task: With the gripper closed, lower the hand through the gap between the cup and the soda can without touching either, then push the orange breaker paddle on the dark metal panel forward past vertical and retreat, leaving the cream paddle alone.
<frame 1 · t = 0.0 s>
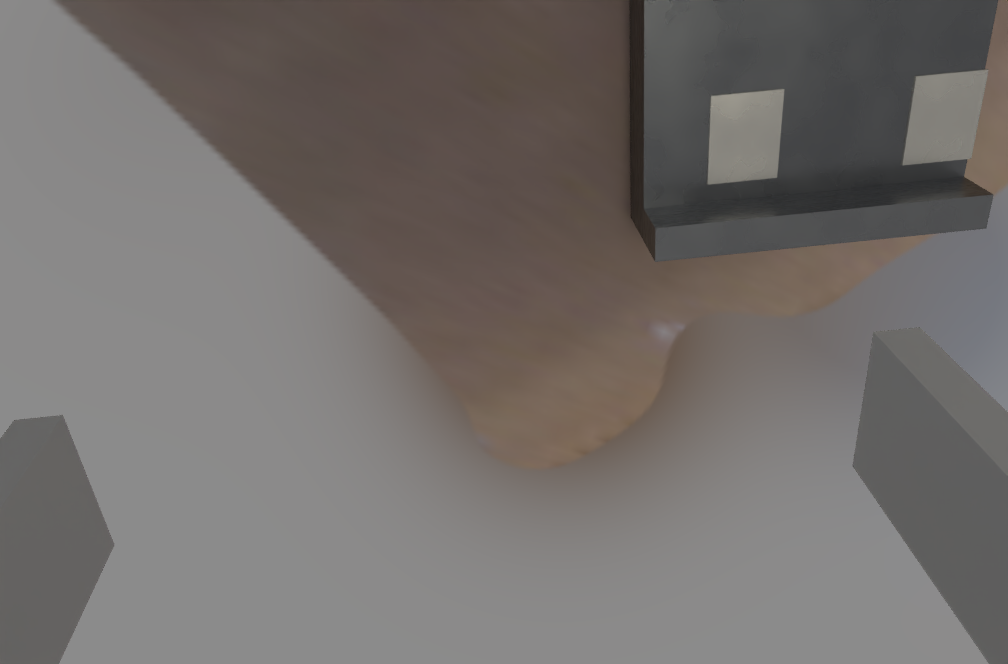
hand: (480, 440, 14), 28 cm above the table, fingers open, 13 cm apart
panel: (792, 37, 39), on the table
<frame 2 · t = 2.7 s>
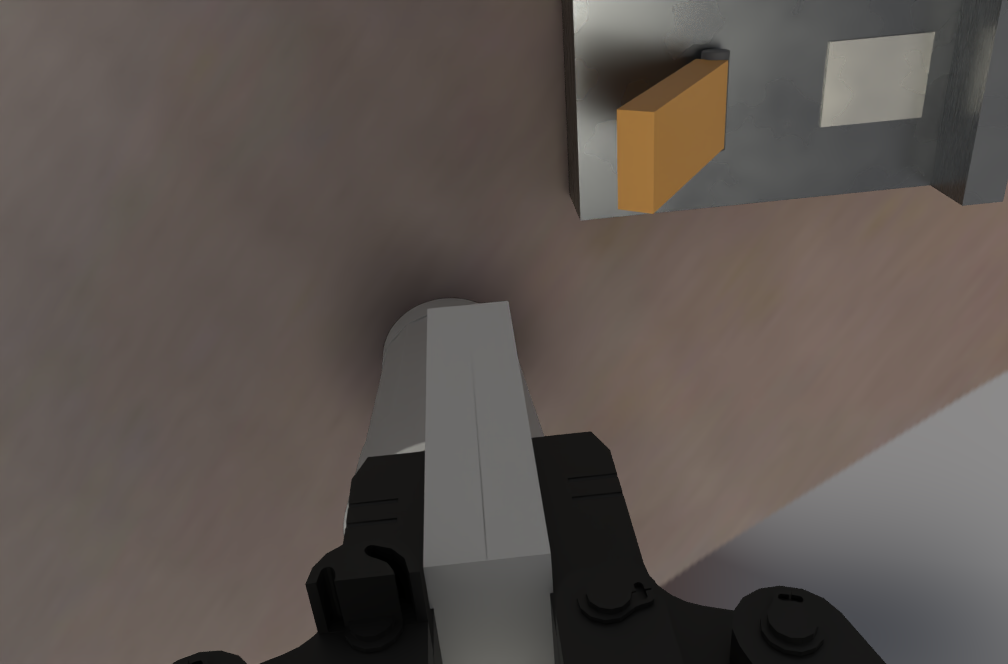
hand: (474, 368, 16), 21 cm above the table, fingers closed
paddle A: (680, 127, 29), point 7 cm above the table, hinge at -35.0°
cup: (450, 355, 41), on the table
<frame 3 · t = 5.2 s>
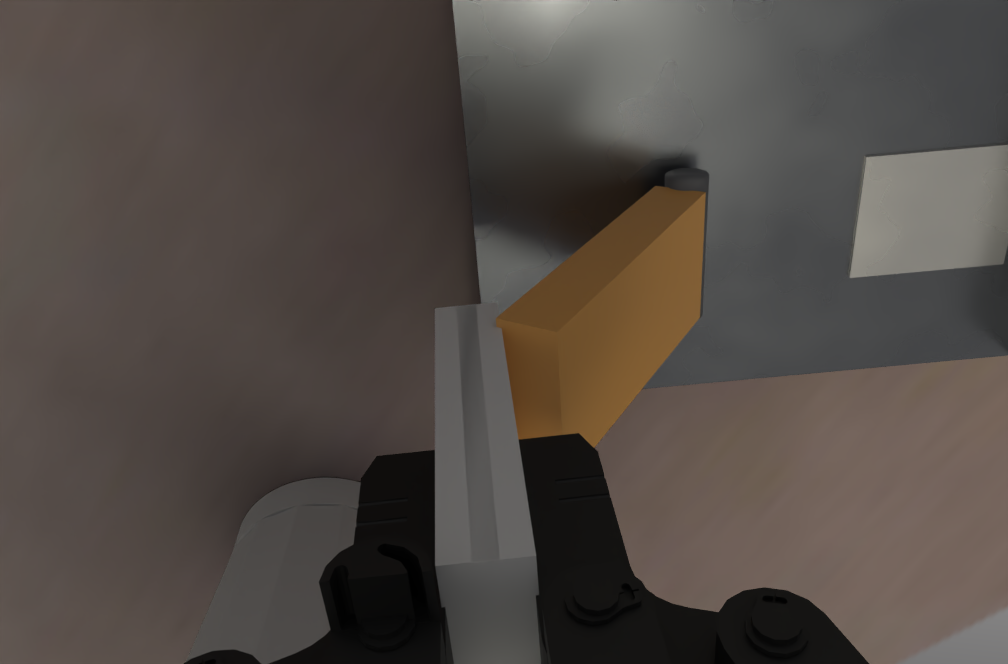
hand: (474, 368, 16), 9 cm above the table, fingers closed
paddle A: (624, 308, 18), point 7 cm above the table, hinge at -34.8°, touching gripper
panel: (766, 74, 22), on the table
cup: (331, 545, 30), on the table
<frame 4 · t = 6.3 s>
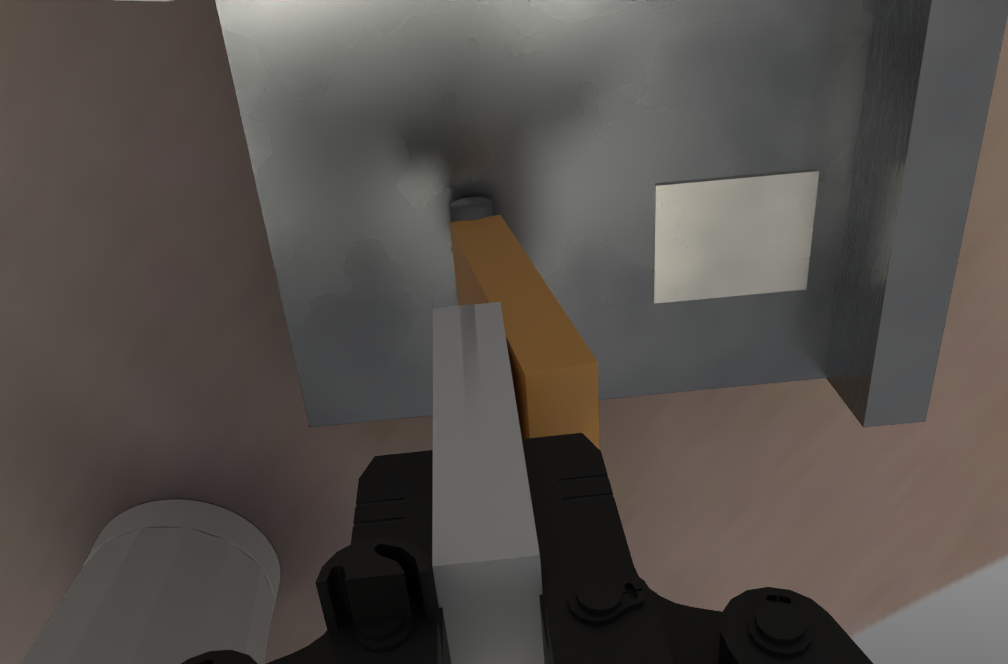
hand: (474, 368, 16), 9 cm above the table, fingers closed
paddle A: (510, 340, 18), point 7 cm above the table, hinge at 9.6°, touching gripper
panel: (575, 102, 23), on the table
cup: (189, 566, 30), on the table
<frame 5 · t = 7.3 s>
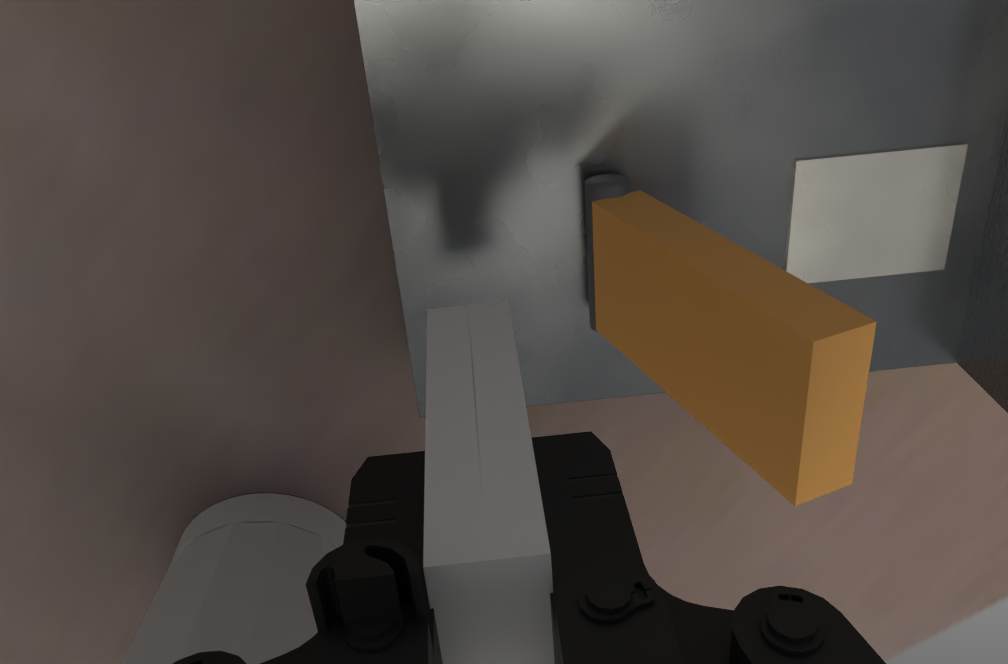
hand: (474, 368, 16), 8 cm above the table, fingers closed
paddle A: (693, 317, 17), point 7 cm above the table, hinge at 19.4°
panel: (698, 75, 22), on the table
cup: (274, 562, 29), on the table
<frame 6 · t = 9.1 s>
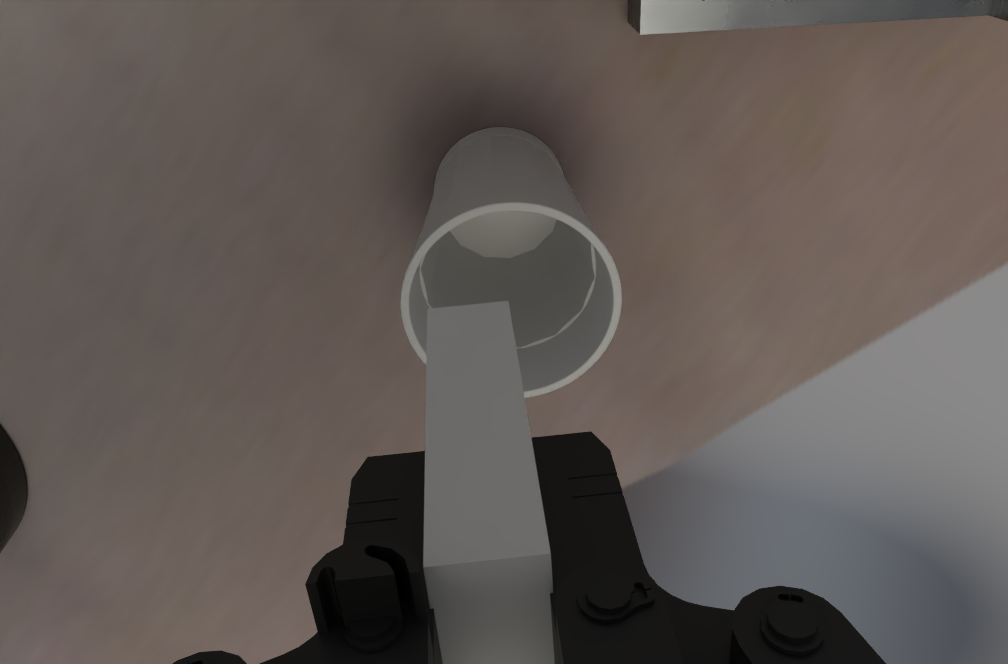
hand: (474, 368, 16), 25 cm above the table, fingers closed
cup: (499, 190, 41), on the table
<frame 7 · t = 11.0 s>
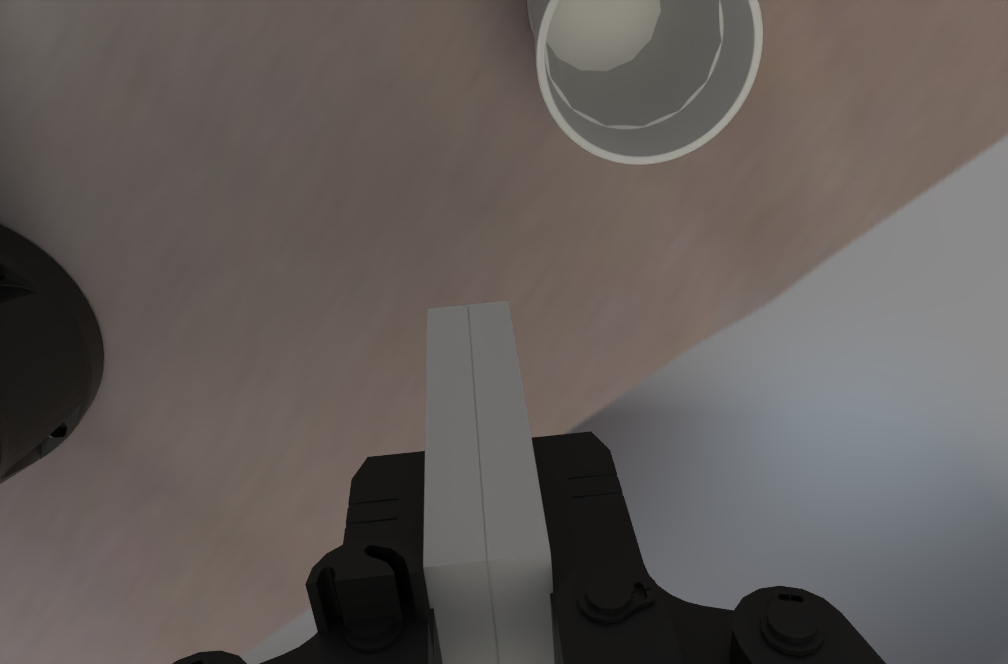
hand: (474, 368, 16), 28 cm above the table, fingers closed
cup: (593, 2, 40), on the table
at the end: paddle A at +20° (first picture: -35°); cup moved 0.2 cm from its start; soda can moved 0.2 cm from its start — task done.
